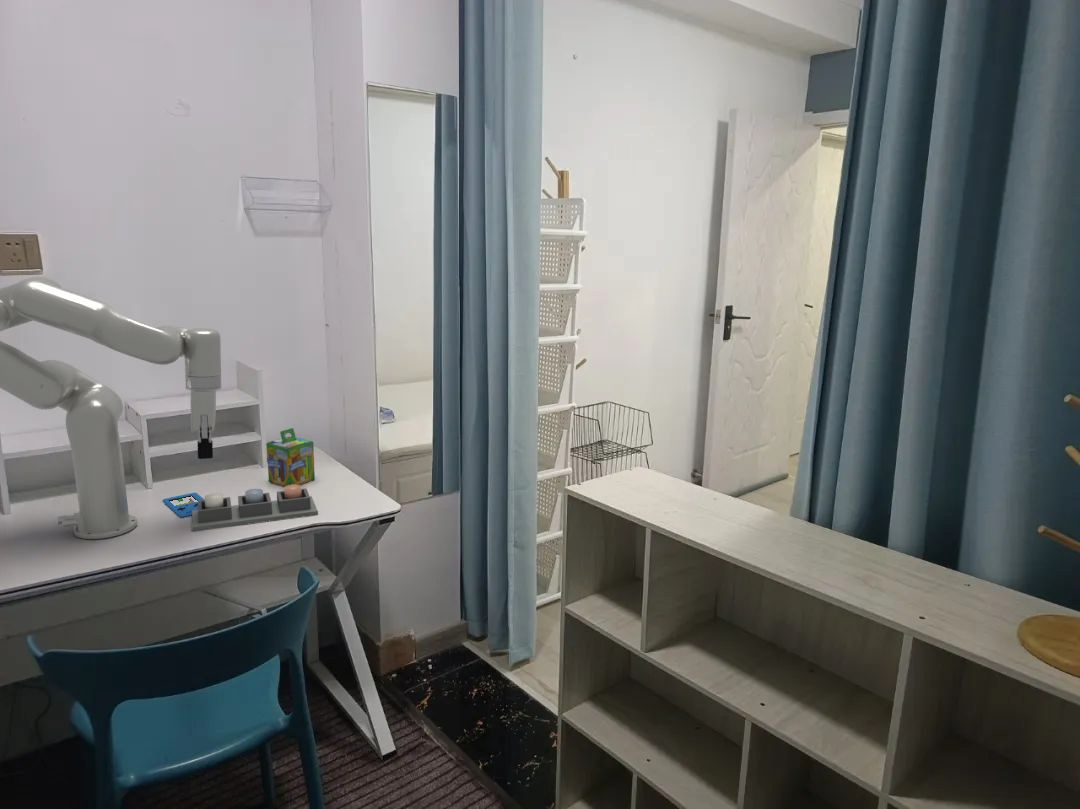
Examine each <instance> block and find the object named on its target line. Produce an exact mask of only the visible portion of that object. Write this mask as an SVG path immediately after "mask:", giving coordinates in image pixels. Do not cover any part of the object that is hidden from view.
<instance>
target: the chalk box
mask: <svg viewBox="0 0 1080 809" xmlns="http://www.w3.org/2000/svg"><path fill="white" fill-rule="evenodd" d="M295 433H296V432H295V429H294V428H292V427H291V428H286V429H284V430H281V431H280V433H279V434H280V437H281V438H279V439H276V440H271V441H269V442H266V444H265V445H266V456H267V458H266V459H267V460H266V461H267V472H268V473H267V474H268V475H267V476H268V483H269V482H270V483H269V484H274V485H278V486H282V487H285V486H287V485H292V484H297V485H301V486H302V485H304V484H306V483H310V482H312V481H315V479H316V478H315V454H314V453H315V452H314V451H315V450H314V441H312V440H308V439H305V438H302V437H296V434H295ZM288 434H290V436H286V435H288Z"/></svg>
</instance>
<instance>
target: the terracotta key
mask: <svg viewBox="0 0 1080 809" xmlns="http://www.w3.org/2000/svg"><path fill="white" fill-rule="evenodd" d="M283 487H284V488H283V489H284V490H283V491H285V500H286V499H294V498H302V491H301V489H302V484H301V485H297V484H292V485H287V486H283Z"/></svg>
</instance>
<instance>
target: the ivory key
mask: <svg viewBox="0 0 1080 809" xmlns="http://www.w3.org/2000/svg"><path fill="white" fill-rule="evenodd" d="M223 498H224V495H223V494H222V493H219V492H215V493H209V494H206V495H205V496H204V500H205V509H211V508H220V507H224V504H223Z"/></svg>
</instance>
